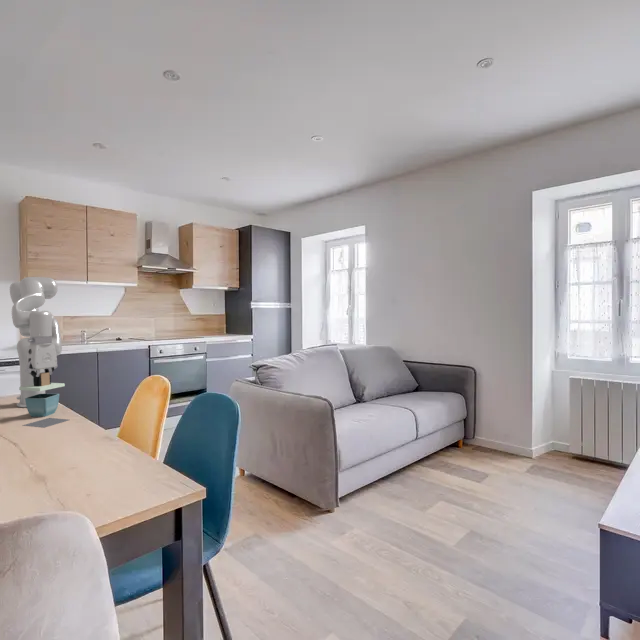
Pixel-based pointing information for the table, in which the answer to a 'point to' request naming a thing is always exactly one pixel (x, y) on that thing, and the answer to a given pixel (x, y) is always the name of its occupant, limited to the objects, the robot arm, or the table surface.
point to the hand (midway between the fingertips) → (42, 384)
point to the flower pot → (42, 404)
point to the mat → (46, 422)
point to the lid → (43, 384)
